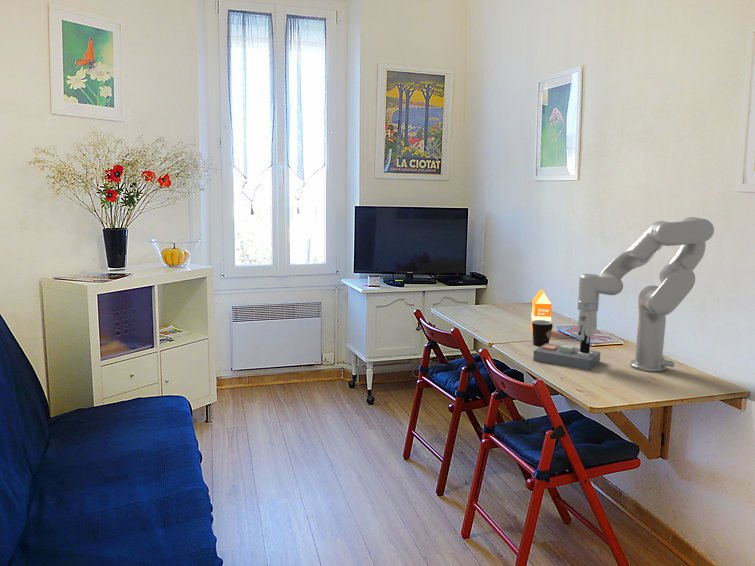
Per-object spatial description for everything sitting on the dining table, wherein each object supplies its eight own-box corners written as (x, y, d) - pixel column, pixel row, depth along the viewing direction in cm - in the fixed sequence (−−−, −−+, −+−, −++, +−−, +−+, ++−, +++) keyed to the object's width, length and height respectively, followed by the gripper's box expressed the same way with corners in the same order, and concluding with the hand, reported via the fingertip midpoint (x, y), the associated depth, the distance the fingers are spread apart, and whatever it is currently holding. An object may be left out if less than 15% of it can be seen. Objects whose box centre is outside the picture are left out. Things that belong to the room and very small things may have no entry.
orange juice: (547, 330, 292) (549, 289, 288) (550, 334, 283) (552, 292, 280) (530, 329, 293) (532, 288, 289) (533, 334, 284) (535, 292, 281)
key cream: (591, 359, 239) (592, 352, 238) (588, 362, 235) (589, 354, 234) (580, 358, 241) (581, 350, 241) (577, 360, 237) (577, 352, 237)
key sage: (574, 353, 242) (574, 346, 242) (570, 356, 239) (571, 348, 238) (563, 352, 245) (563, 344, 244) (559, 354, 241) (560, 346, 241)
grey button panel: (599, 361, 242) (600, 352, 241) (589, 370, 230) (590, 360, 230) (545, 352, 254) (546, 343, 253) (533, 360, 243) (533, 350, 242)
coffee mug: (537, 347, 261) (538, 325, 259) (527, 342, 269) (528, 320, 267) (561, 346, 264) (562, 323, 262) (550, 341, 272) (551, 319, 271)
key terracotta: (556, 353, 246) (557, 346, 246) (552, 356, 243) (553, 348, 242) (545, 352, 249) (546, 344, 248) (542, 354, 245) (542, 346, 245)
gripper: (592, 310, 226) (588, 358, 229) (603, 304, 238) (599, 349, 241) (572, 308, 230) (568, 355, 234) (583, 301, 243) (580, 346, 246)
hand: (584, 352), depth 238 cm, fingers closed
